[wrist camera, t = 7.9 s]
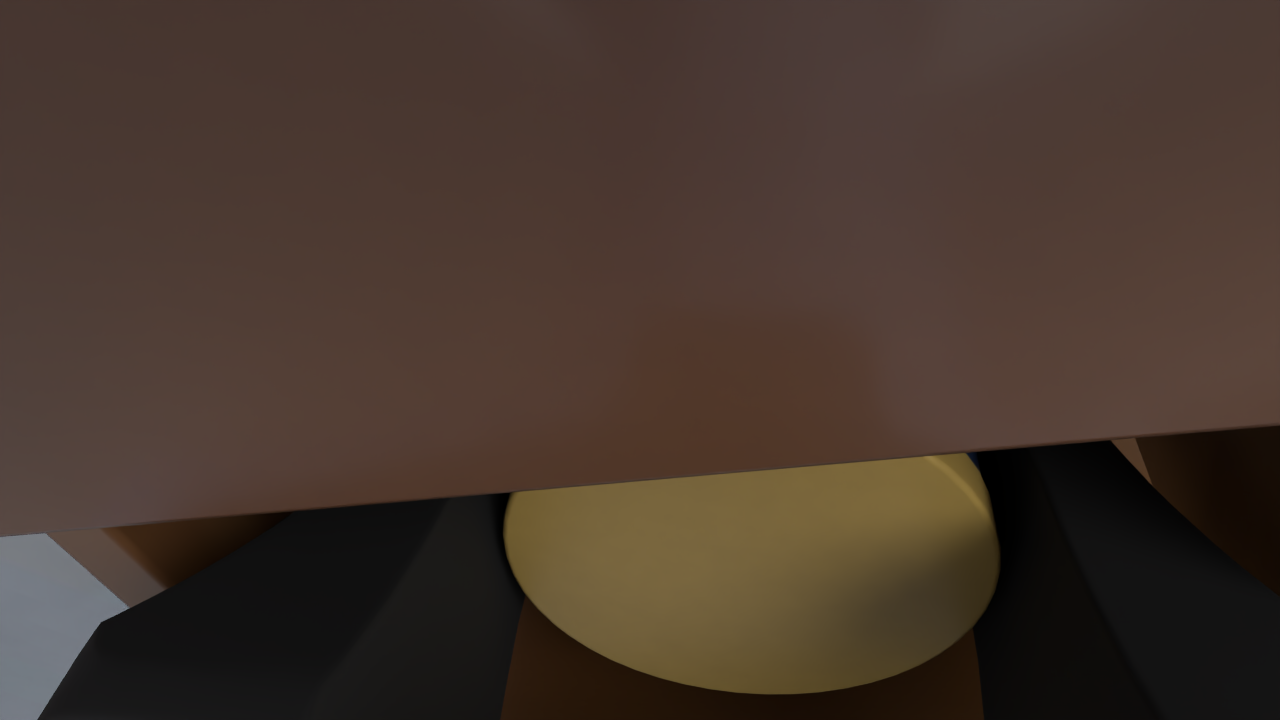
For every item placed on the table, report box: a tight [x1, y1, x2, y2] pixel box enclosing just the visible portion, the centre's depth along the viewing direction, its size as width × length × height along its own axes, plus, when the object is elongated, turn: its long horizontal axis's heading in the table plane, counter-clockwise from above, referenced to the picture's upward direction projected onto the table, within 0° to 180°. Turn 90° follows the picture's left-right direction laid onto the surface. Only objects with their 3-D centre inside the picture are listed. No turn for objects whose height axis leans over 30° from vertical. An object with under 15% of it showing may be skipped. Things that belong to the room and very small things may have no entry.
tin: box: [503, 452, 1001, 694], centre depth 12 cm, size 6×6×5 cm
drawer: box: [46, 426, 1280, 720], centre depth 12 cm, size 19×13×8 cm
